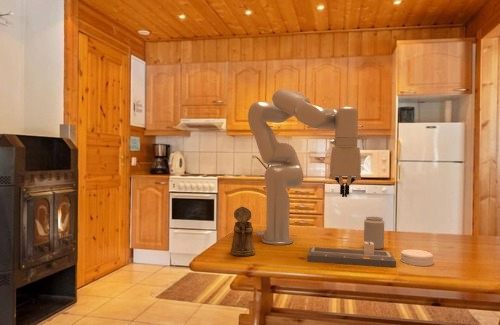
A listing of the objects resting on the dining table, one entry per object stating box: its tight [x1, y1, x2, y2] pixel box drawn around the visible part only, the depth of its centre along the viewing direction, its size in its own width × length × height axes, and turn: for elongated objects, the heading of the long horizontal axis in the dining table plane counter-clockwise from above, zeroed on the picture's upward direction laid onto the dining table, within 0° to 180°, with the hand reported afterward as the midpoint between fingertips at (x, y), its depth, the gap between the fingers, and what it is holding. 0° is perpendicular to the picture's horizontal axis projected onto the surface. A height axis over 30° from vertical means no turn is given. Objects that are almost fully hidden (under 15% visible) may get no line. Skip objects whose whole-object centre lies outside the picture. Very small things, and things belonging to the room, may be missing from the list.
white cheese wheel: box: [400, 248, 434, 267], centre depth 128 cm, size 10×10×4 cm
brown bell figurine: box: [229, 206, 256, 257], centre depth 134 cm, size 9×14×18 cm, turn 178°
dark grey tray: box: [307, 246, 397, 268], centre depth 130 cm, size 28×12×3 cm, turn 78°
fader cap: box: [363, 241, 375, 255], centre depth 128 cm, size 3×4×4 cm
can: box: [363, 216, 385, 251], centre depth 148 cm, size 8×8×12 cm
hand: (344, 196), depth 130 cm, fingers closed
